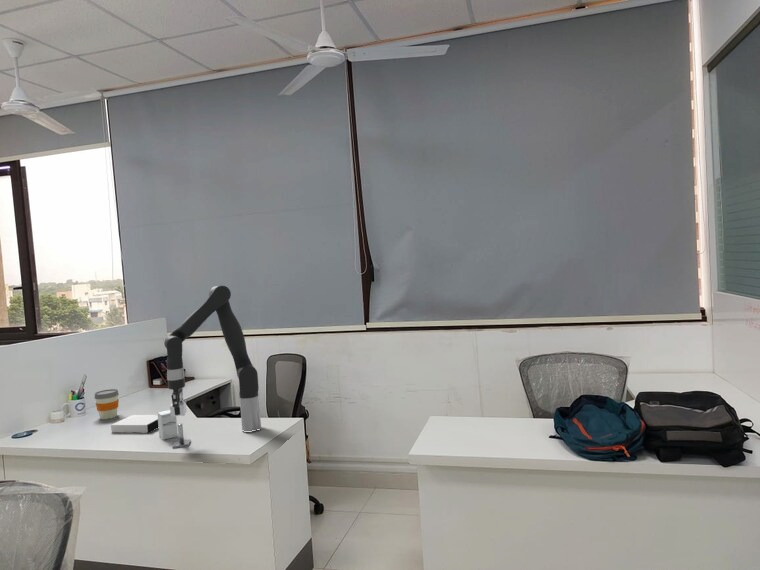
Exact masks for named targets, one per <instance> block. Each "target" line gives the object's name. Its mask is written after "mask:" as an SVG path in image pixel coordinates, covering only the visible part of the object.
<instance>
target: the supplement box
mask: <svg viewBox="0 0 760 570" xmlns="http://www.w3.org/2000/svg"><path fill="white" fill-rule="evenodd" d="M156 415H158V426H159V428H158V435H159V438H160V437H161V438H162V439H161V438H160V439H161V440H163V441H164V440H168V439H171V438H172V439H173V438H177V437H178V423H177V422H178V420H177V416H172V417H171V413H170V409H168V410H164V411H158V412H157V413H156ZM176 436H177V437H176Z"/></svg>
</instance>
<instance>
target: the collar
mask: <svg viewBox="0 0 760 570" xmlns="http://www.w3.org/2000/svg"><path fill="white" fill-rule="evenodd" d="M175 404H177V402H175ZM179 407H180V414H179V415H175V411H174V407H173V404H172V403H171V404H170V406H169V410H170V413H171V417H172V416H176V417H179V416H185V415H186V413H187V402H186V401H184V400H183V402H180V406H179Z"/></svg>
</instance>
